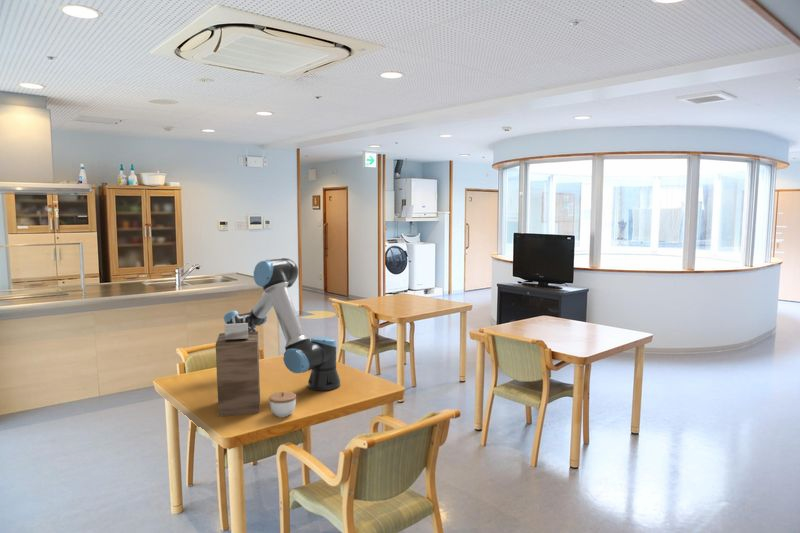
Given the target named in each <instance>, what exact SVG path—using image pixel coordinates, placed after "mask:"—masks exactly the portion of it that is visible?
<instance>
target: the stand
mask: <svg viewBox="0 0 800 533" xmlns="http://www.w3.org/2000/svg"><path fill="white" fill-rule="evenodd" d="M259 351H260V350H259V331H258V330H257V331H256V332H248V338H246V339H229V340H225V332H224V333H219V335H218V337H217V339H216V341H215V363H216V384H217V385H216V388H217V408H218V410H217V412H218V416H217V417H227V416H238V415H249V414H250V415H252V414H259V413H260V408H261V407H260V405H261V387H260V385H261V384H260V382H261V381H260V360H259V358H260V357H259V356H260V354H259Z"/></svg>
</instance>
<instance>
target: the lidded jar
mask: <svg viewBox="0 0 800 533" xmlns="http://www.w3.org/2000/svg"><path fill="white" fill-rule="evenodd" d="M268 398H269V407H270V410H271V412H272V414H274V416H276V417H277V416H278V417H277V418H285V417H284V416H287V417H289V416H288V415H290V414H292V413H293V412H294V411H295V409H296V404H297V394H296V393H294V392H290V391H281V392H275V393H273V394H271V395H269V397H268ZM290 416H291V415H290Z"/></svg>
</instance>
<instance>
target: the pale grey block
mask: <svg viewBox="0 0 800 533" xmlns="http://www.w3.org/2000/svg"><path fill="white" fill-rule="evenodd" d="M224 333H225V340H229V339H246V338H248V323H238V324H226V323H225V324H224Z"/></svg>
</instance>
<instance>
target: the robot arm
mask: <svg viewBox="0 0 800 533" xmlns="http://www.w3.org/2000/svg"><path fill="white" fill-rule="evenodd" d="M298 276H299V268H298V264H296V262H295V261H293V260H292V259H290V258H285V257H284V258H274V259H265V260H261V261H259V262H257V263H256V265H255V267H254V269H253V280H254V283H255V284H256V285H257V286H259V287H261V288H263V292H264V293H263V295H262V296H261V297H260V299H259V300H258V301H257V302H256V304H255V305H254V307H253V308H252V309H251V311H250V312H245V313H239V312H238V311H237V310H231V311H228V312H227V313H225V314H224V316H223V320H224V321H223V322H224V323H225V324H238V323H248V332H256V330H257V329H256V327H258V326H261V325H265V324H266V322H267V319H268V314H269V313H270V311H271V310H272V309H274V312H275V315H276V318H277V320H278V323H279V326H280V329H281V331H282V334H283V336H284V339H285V342H286V344H285V346H284V350H285V351H284V353H283V358H282V359H283V363H284V366H285V367H286V369H287V370H289V371H290V372H292V373H293V374H302V373H305V372H308V371H311V372H310V375H309V378H308V382H307V386H308V388H309V390H312V391H321V392H322V391H331V390H335V389H337V388H339V387H341V379H340V376H339V373H338V369H337V343H336V340H335V339H334V338H331V337H327V336H325V337H324V336H315V337H311V339H310V338H309V336H306V335H305V333H304V330H303V328H302V325H301V322H300V320H299V317H298V314H297V312H296V309H295V305H294V303H293V300H292V298H291V295H290V292H289V290H288V289H289V288H291V287H293V285H294V283H295V282H296V281H297V279H298Z"/></svg>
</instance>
